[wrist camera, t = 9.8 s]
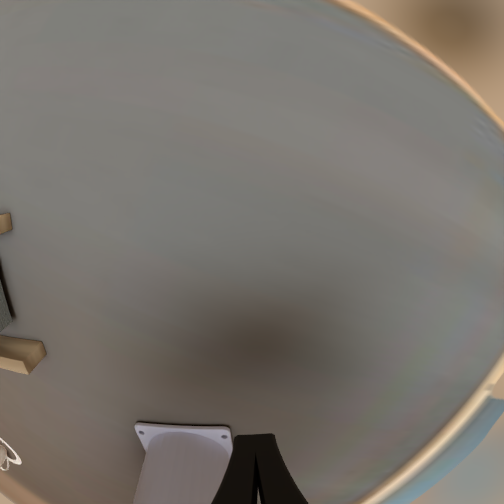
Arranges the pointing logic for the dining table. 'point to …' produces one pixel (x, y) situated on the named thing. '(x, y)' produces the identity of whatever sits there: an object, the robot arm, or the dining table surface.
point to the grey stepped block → (4, 311)
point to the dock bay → (14, 349)
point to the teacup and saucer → (1, 454)
